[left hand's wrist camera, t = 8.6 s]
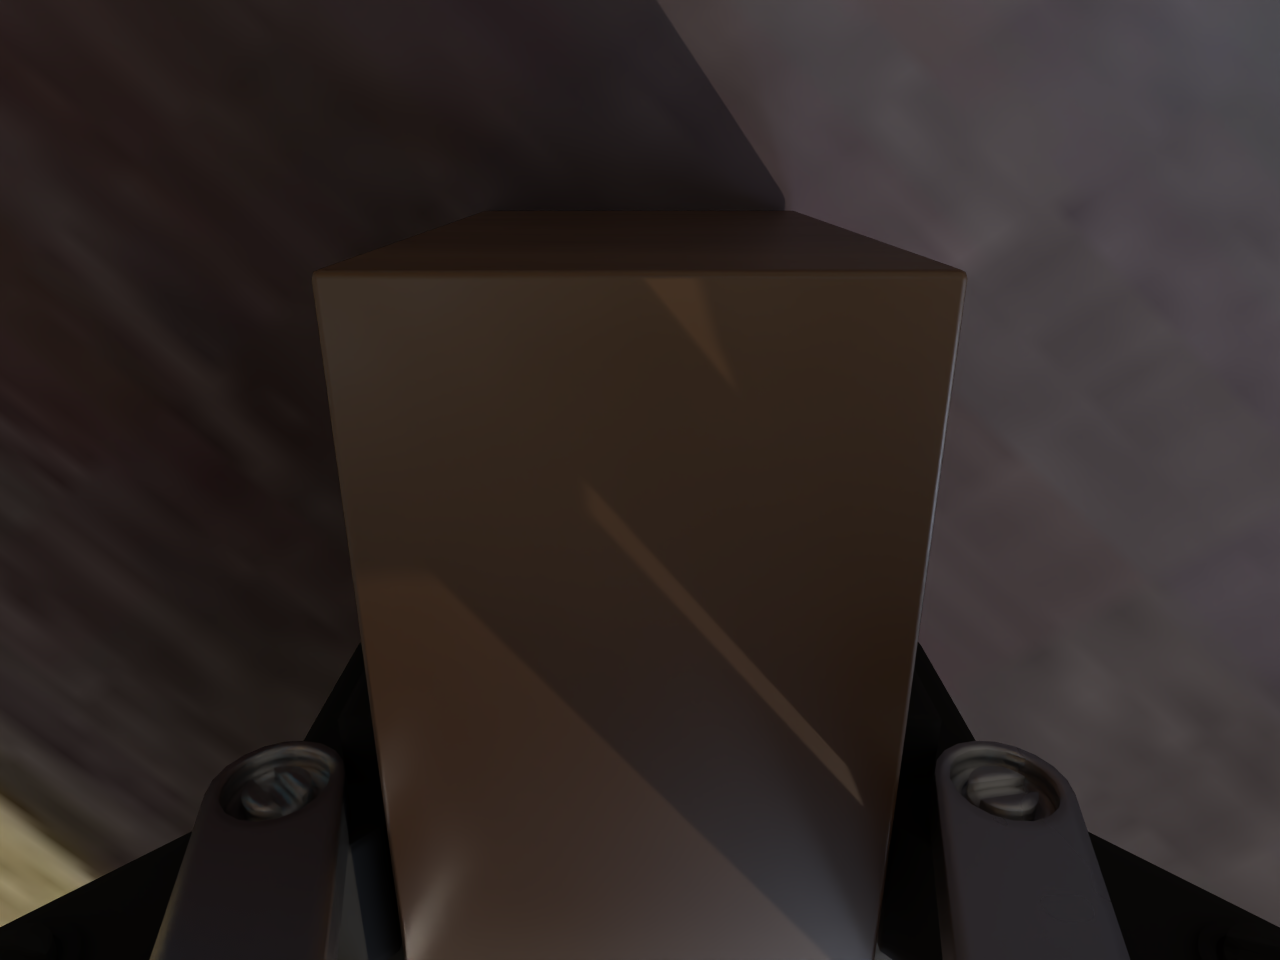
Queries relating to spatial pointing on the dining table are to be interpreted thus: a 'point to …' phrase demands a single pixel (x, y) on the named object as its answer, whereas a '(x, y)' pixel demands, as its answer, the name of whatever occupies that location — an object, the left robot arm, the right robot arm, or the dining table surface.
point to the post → (639, 572)
